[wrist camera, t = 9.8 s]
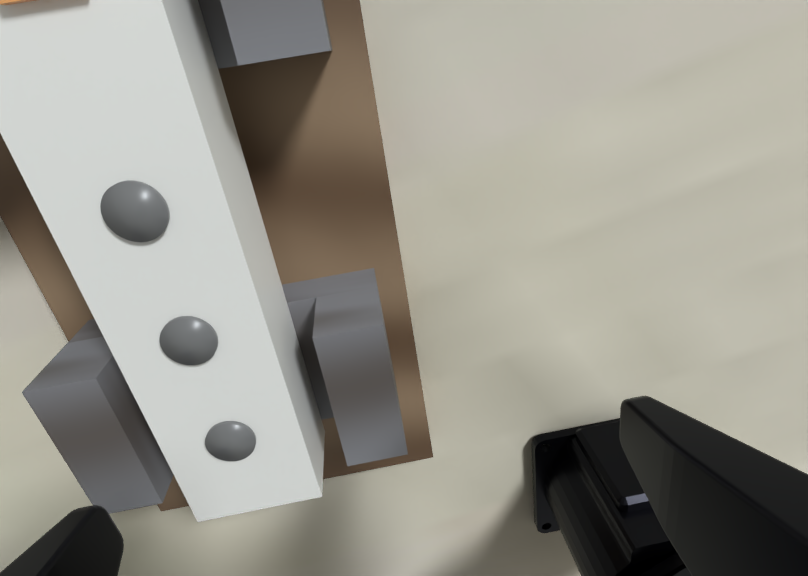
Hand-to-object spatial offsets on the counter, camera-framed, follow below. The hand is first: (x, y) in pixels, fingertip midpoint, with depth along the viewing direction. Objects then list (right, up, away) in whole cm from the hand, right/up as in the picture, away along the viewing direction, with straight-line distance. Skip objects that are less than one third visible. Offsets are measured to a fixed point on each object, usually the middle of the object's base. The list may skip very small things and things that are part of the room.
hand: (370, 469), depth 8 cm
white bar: (-6, +5, +6) cm, 10 cm away
